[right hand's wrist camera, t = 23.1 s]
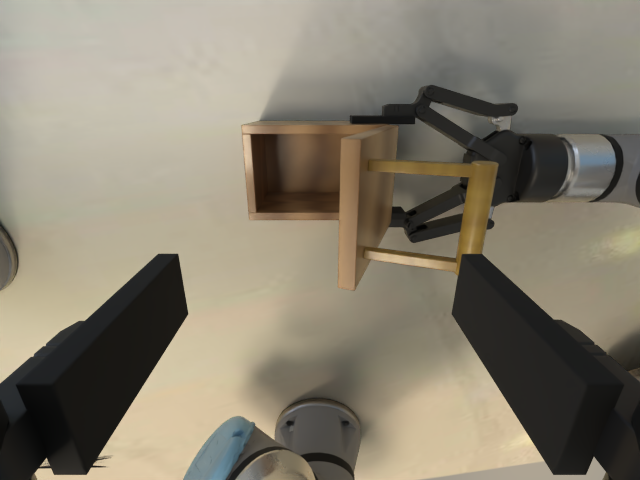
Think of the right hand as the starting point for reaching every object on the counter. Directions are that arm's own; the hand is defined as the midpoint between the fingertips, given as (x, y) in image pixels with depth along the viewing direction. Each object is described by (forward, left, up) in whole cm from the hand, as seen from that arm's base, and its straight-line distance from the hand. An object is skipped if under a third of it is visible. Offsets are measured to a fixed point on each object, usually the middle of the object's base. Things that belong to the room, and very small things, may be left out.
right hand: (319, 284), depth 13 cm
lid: (+2, -3, -15) cm, 16 cm away
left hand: (+2, -3, -27) cm, 27 cm away
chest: (0, 0, -33) cm, 33 cm away
